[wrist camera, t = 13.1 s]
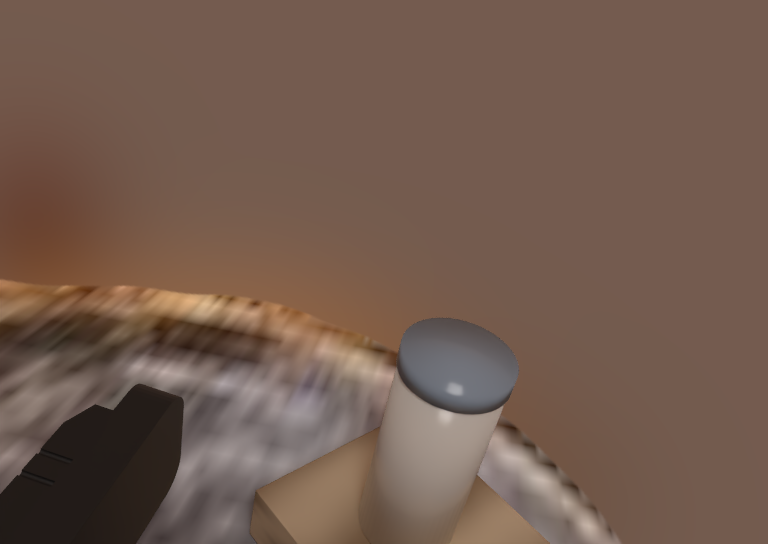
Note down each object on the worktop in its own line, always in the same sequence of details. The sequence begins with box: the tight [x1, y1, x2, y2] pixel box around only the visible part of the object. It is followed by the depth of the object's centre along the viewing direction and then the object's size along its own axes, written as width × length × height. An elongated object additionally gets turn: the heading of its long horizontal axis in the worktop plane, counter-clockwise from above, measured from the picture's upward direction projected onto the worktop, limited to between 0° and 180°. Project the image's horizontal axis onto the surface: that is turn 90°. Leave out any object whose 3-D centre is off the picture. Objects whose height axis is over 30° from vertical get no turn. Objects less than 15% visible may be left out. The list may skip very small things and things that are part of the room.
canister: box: [358, 318, 519, 544], centre depth 33 cm, size 5×5×11 cm
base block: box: [250, 426, 550, 544], centre depth 37 cm, size 11×11×4 cm
